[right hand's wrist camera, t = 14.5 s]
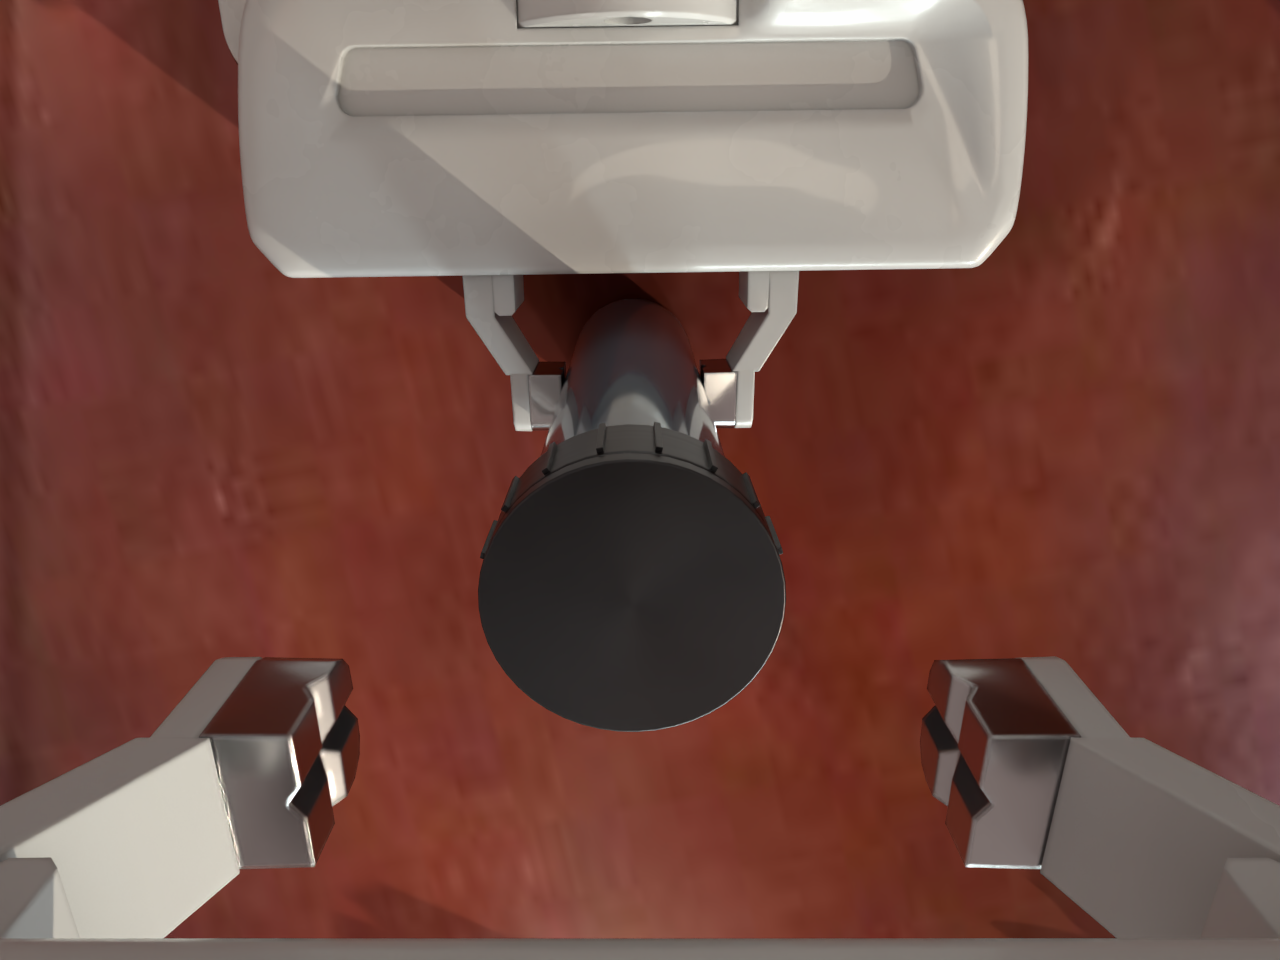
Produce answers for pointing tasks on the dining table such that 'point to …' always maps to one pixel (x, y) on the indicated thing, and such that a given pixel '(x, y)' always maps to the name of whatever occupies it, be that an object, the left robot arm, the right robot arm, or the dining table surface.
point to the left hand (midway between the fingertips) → (634, 424)
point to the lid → (632, 579)
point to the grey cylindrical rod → (633, 376)
